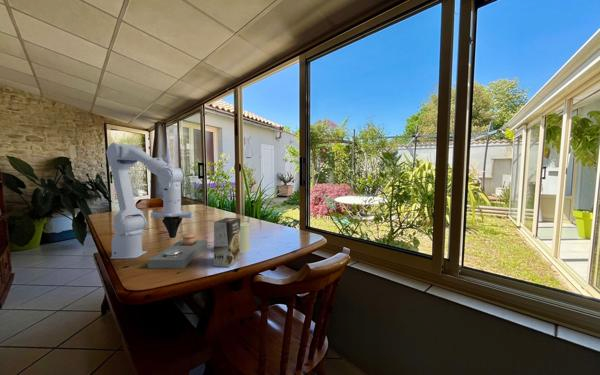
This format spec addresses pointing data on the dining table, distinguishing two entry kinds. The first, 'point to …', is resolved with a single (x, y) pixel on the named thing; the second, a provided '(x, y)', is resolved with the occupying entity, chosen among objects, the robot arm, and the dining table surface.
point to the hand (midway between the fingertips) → (172, 237)
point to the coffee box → (226, 242)
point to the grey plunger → (173, 253)
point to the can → (244, 237)
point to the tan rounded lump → (188, 239)
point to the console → (182, 260)
